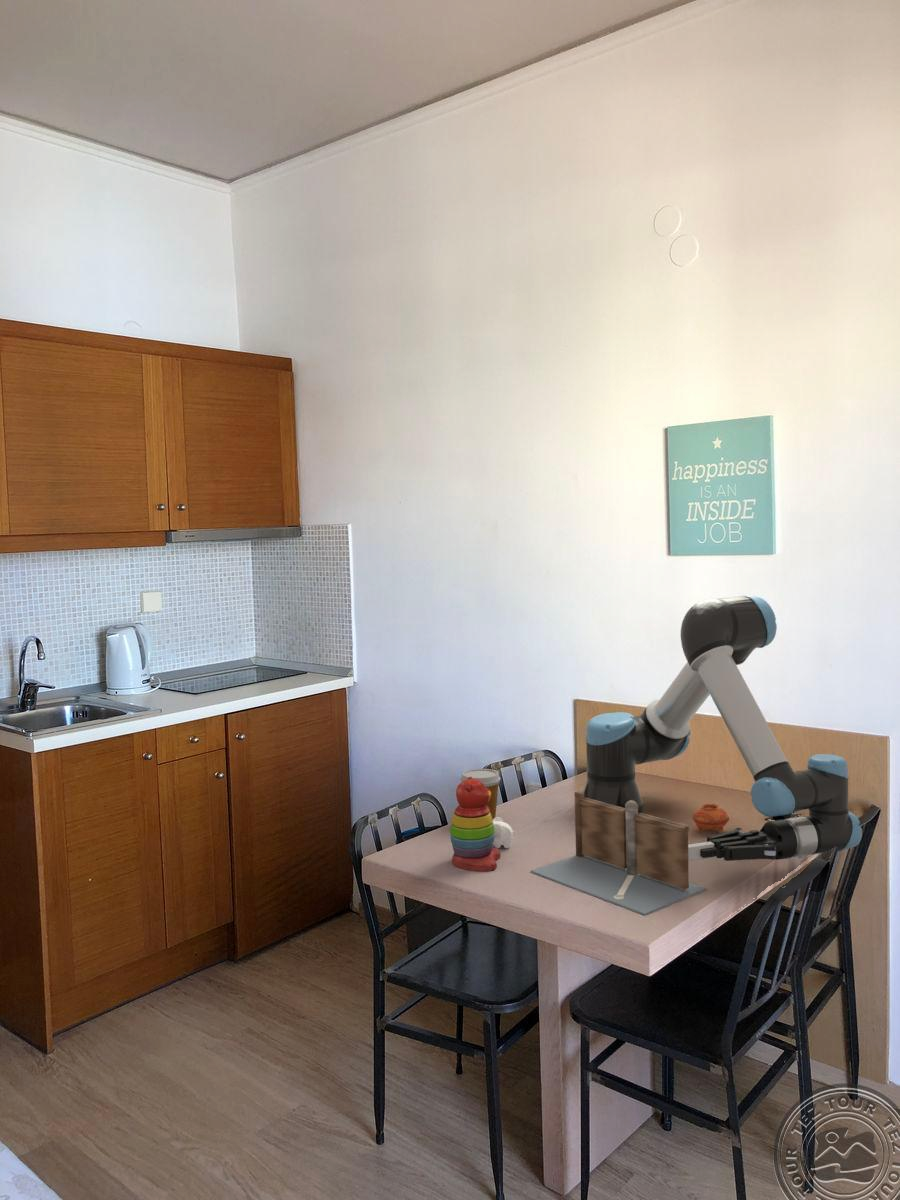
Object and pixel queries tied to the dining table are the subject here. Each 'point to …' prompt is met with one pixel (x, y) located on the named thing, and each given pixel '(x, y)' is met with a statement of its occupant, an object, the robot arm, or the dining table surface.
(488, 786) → the disposable coffee cup
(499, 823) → the elephant figurine
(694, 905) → the dining table surface
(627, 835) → the fixed fence
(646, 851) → the hinged fence panel
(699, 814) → the pot
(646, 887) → the card
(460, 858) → the stacking bear
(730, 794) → the dining table surface
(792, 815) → the black box
